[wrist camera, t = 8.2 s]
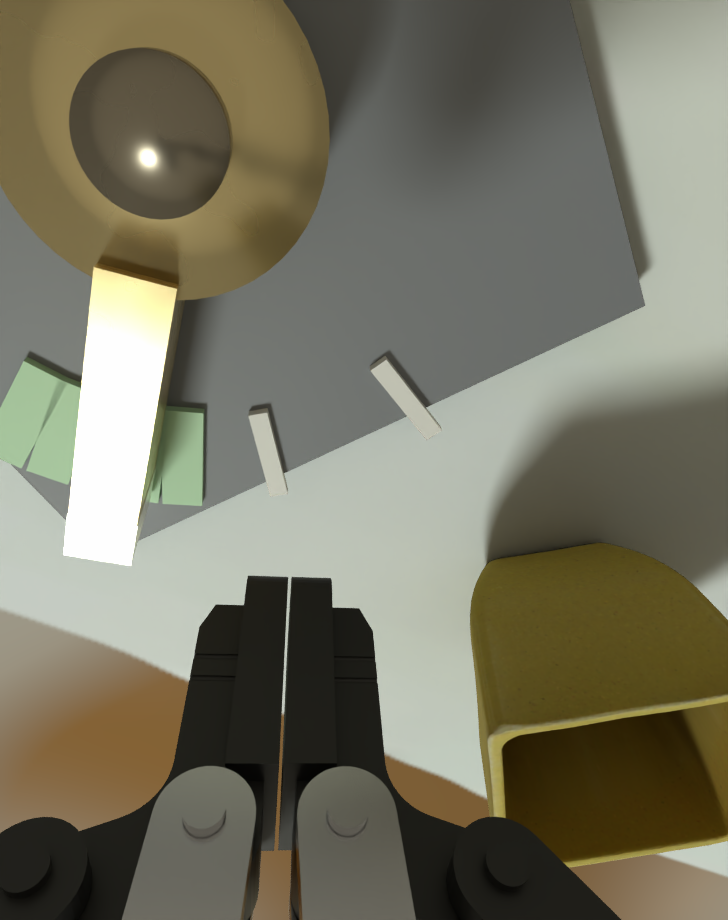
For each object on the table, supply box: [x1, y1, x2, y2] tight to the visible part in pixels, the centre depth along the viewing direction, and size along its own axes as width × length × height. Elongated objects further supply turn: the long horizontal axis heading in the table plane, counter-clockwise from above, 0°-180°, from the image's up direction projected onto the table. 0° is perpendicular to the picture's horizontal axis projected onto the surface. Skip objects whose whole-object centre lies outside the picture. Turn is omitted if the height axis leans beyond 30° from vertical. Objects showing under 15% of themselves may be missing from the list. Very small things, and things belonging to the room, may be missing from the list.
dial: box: [0, 0, 330, 566], centre depth 16 cm, size 15×7×4 cm, turn 162°
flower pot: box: [470, 543, 728, 867], centre depth 25 cm, size 9×9×9 cm
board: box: [0, 0, 645, 541], centre depth 18 cm, size 21×18×2 cm
